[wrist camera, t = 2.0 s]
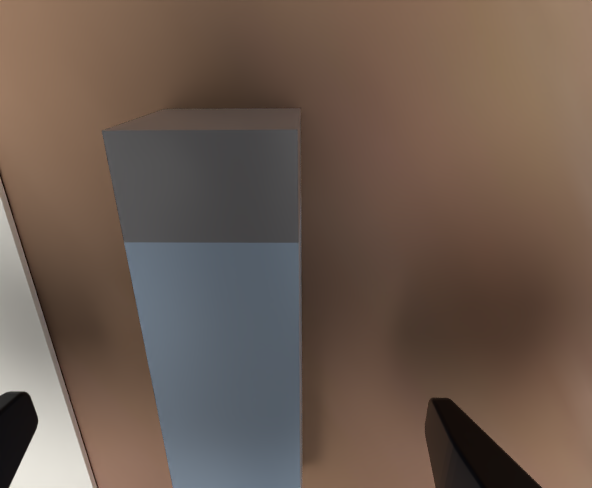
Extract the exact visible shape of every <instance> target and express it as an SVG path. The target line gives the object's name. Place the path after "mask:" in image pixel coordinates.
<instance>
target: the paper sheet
mask: <svg viewBox="0 0 592 488" xmlns="http://www.w3.org/2000/svg"><path fill="white" fill-rule="evenodd" d="M9 391H25V392H27V393H28V394H29V395H30V396H31V399H32V402H33V405H34V407H35V410H36V413H37V416H38V426H37V429H36V431H35V434H34V436H33V438H32V440H31V442H30V444H29V446H28V449H27V451H26V453H25V455H24V457H23V459H22V461H21V463H20V466H19V468H18V470H17V472H16V474H15V476H14V478H13V481H12V483H11V485H10V487H9V488H97V486H96V483H95V479H94V476H93V473H92V470H91V467H90V463H89V460H88V457H87V454H86V451H85V447H84V444H83V441H82V438H81V434H80V431H79V428H78V425H77V422H76V418H75V415H74V412H73V409H72V406H71V402H70V399H69V396H68V393H67V390H66V386H65V383H64V380H63V377H62V374H61V370H60V367H59V364H58V361H57V358H56V354H55V351H54V348H53V345H52V342H51V338H50V335H49V332H48V329H47V326H46V322H45V319H44V316H43V313H42V309H41V306H40V303H39V300H38V297H37V293H36V290H35V287H34V284H33V281H32V277H31V274H30V271H29V268H28V265H27V261H26V258H25V255H24V252H23V249H22V245H21V242H20V239H19V236H18V233H17V229H16V226H15V223H14V220H13V217H12V213H11V210H10V207H9V204H8V201H7V197H6V194H5V191H4V188H3V185H2V181H1V178H0V395H2V394H4V393H6V392H9Z"/></svg>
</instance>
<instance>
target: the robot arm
mask: <svg viewBox="0 0 592 488" xmlns="http://www.w3.org/2000/svg"><path fill="white" fill-rule="evenodd" d="M37 426H38V416H37V413H36V410H35V407H34V405H33V402H32V399H31V396H30V395H29V394H28V393H27V392H25V391H9V392H6V393H4V394H2V395H0V488H9V487H10V485H11V483H12V481H13V478H14V476H15V474H16V472H17V470H18V468H19V466H20V463H21V461H22V459H23V457H24V455H25V453H26V451H27V449H28V446H29V444H30V442H31V440H32V438H33V436H34V434H35V431H36V429H37ZM425 436H426V441H427V446H428V451H429V456H430V461H431V466H432V471H433V476H434V482H435V487H436V488H542V487H541V486H540V485H539V484H538V483H537V482H536V481H535V480H534V479H533V478H532V477H531V476H530V475H528V474H527V473H526V472H525V471H524V470H523V469H522V468H521V467H520V466H519V465H518V464H517V463H516V462H515V461H514V460H513V459H512V458H511V457H510V456H509V455H508V454H507V453H506V452H505V451H504V450H503V449H502V448H501V447H500V446H499V445H497V444H496V443H495V442H494V441H493V440H492V439H491V438H490V437H489V436H488V435H487V434H486V433H485V432H484V431H483V430H482V429H481V428H480V427H479V426H478V425H477V424H476V423H475V422H474V421H473V420H472V419H471V418H470V417H469V416H468V415H466V414H465V413H464V412H463V411H462V410H461V409H460V408H459V407H458V406H457V405H456V404H455V403H454V402H453V401H452V400H451V399H449V398H431V399H430V400H429V403H428V409H427V415H426V421H425Z"/></svg>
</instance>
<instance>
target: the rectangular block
mask: <svg viewBox="0 0 592 488" xmlns="http://www.w3.org/2000/svg"><path fill="white" fill-rule="evenodd" d="M102 134H103V139H104V144H105V149H106V154H107V159H108V164H109V169H110V174H111V179H112V184H113V189H114V194H115V199H116V204H117V209H118V214H119V219H120V224H121V229H122V234H123V239H124V244H125V249H126V254H127V259H128V264H129V270H130V275H131V280H132V285H133V290H134V295H135V300H136V305H137V310H138V315H139V320H140V325H141V330H142V335H143V340H144V345H145V350H146V355H147V360H148V365H149V370H150V375H151V380H152V385H153V390H154V395H155V400H156V405H157V410H158V415H159V420H160V425H161V430H162V435H163V440H164V445H165V450H166V455H167V460H168V465H169V470H170V475H171V480H172V485H173V488H302V263H301V108H226V109H163V110H160V111H157V112H154V113H151V114H148V115H145V116H142V117H139V118H137V119H134V120H131V121H128V122H125V123H122V124H119V125H116V126H114V127H111V128H108V129H105V130H102Z"/></svg>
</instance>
